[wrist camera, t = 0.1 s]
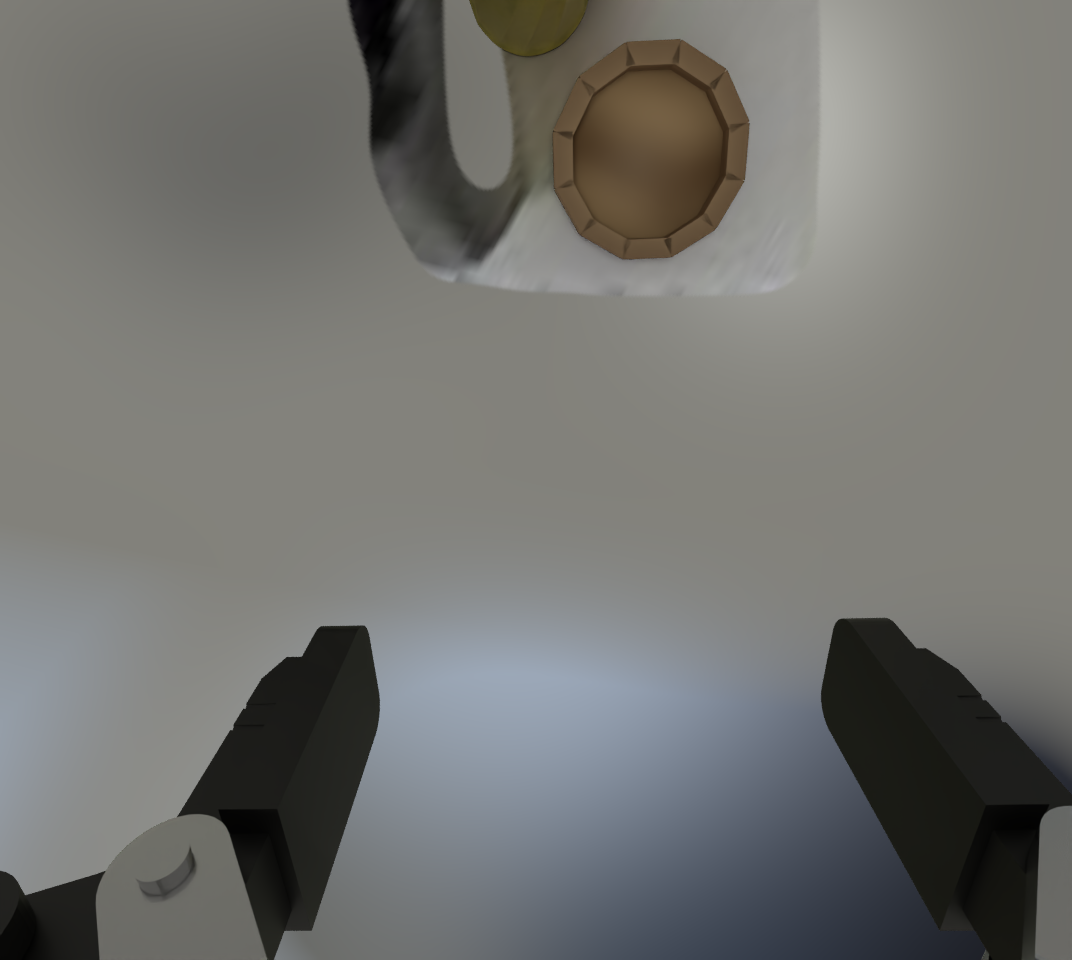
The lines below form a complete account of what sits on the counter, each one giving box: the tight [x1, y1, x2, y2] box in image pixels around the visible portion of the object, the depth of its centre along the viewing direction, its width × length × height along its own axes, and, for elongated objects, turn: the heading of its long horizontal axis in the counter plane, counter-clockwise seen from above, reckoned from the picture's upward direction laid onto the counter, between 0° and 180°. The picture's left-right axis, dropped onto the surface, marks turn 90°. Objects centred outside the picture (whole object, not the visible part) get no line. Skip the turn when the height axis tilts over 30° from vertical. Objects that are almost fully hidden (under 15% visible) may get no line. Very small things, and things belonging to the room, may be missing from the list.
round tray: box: [553, 39, 750, 259], centre depth 33 cm, size 10×10×2 cm
